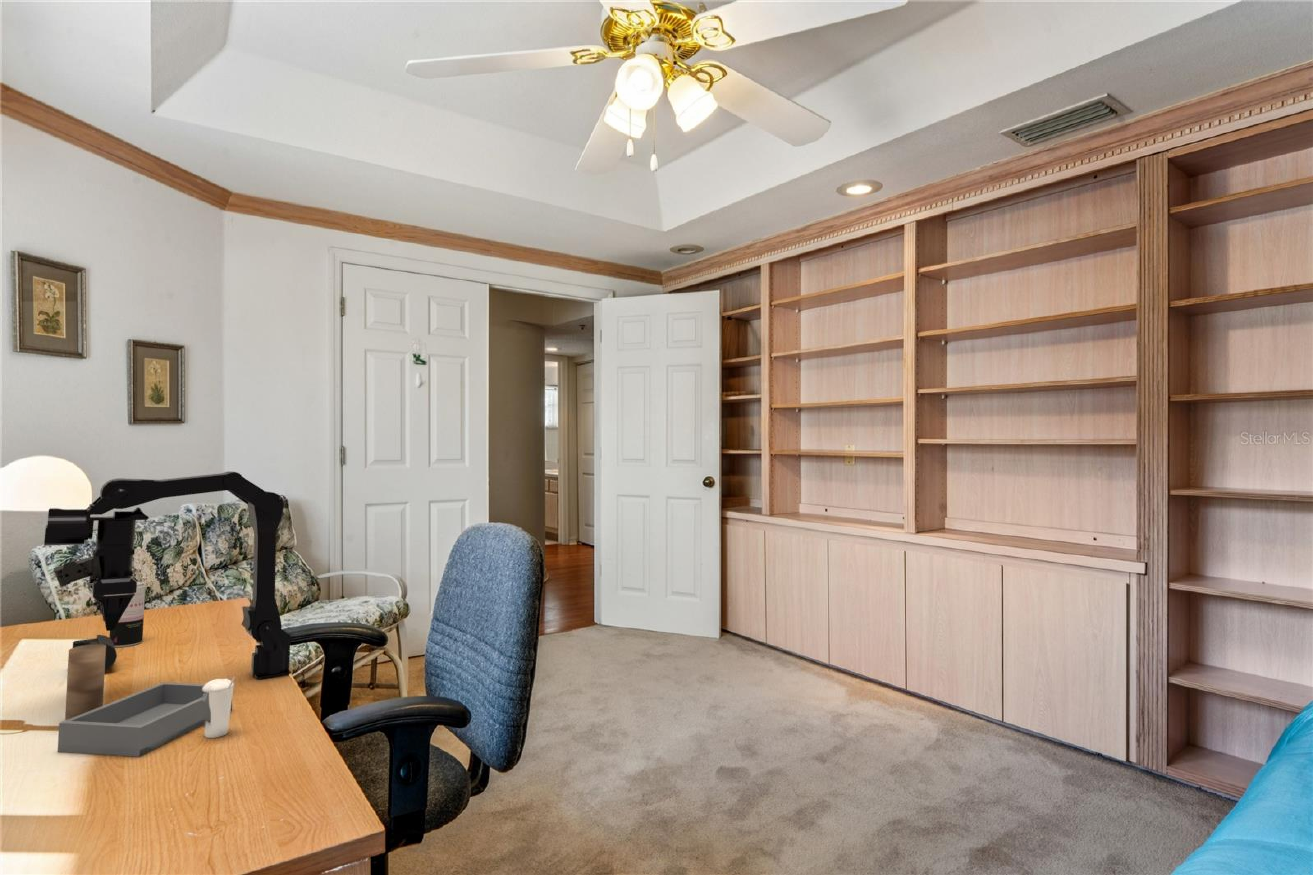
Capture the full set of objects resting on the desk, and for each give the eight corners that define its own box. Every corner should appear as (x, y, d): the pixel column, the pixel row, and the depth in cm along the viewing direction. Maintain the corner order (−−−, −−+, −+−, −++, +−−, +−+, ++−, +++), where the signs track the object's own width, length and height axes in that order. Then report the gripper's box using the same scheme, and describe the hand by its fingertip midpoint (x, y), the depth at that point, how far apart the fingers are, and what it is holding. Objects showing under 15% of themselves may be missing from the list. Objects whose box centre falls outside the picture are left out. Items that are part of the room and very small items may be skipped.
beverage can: (104, 645, 165) (107, 584, 166) (135, 639, 171) (138, 580, 172) (115, 649, 162) (118, 587, 163) (147, 643, 168) (150, 583, 168)
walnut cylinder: (102, 715, 121) (105, 642, 121) (102, 723, 117) (106, 649, 117) (65, 721, 118) (69, 647, 118) (64, 730, 114) (68, 653, 114)
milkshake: (220, 741, 110) (222, 680, 111) (193, 738, 111) (195, 678, 112) (242, 731, 115) (244, 672, 115) (216, 728, 116) (218, 670, 116)
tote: (162, 706, 125) (163, 682, 126) (231, 710, 124) (232, 685, 124) (57, 751, 106) (59, 722, 106) (139, 756, 104) (140, 727, 104)
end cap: (116, 673, 144) (117, 641, 145) (72, 680, 140) (74, 647, 140) (112, 662, 152) (114, 632, 152) (71, 668, 147) (73, 637, 147)
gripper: (59, 540, 130) (51, 621, 129) (59, 550, 116) (51, 641, 115) (131, 538, 137) (125, 615, 136) (140, 548, 123) (133, 633, 123)
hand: (108, 625), depth 127 cm, fingers open, 9 cm apart
